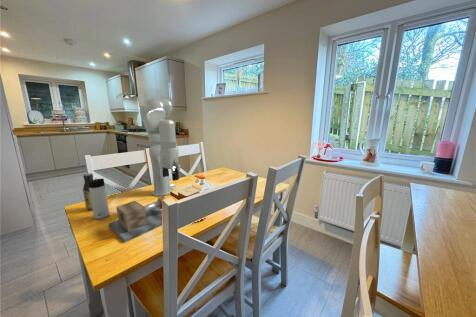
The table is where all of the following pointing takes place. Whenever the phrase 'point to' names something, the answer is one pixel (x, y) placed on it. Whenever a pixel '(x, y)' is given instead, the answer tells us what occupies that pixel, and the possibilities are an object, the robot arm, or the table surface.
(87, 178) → the sauce bottle
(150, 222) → the housing
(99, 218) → the travel mug
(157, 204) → the shaft
